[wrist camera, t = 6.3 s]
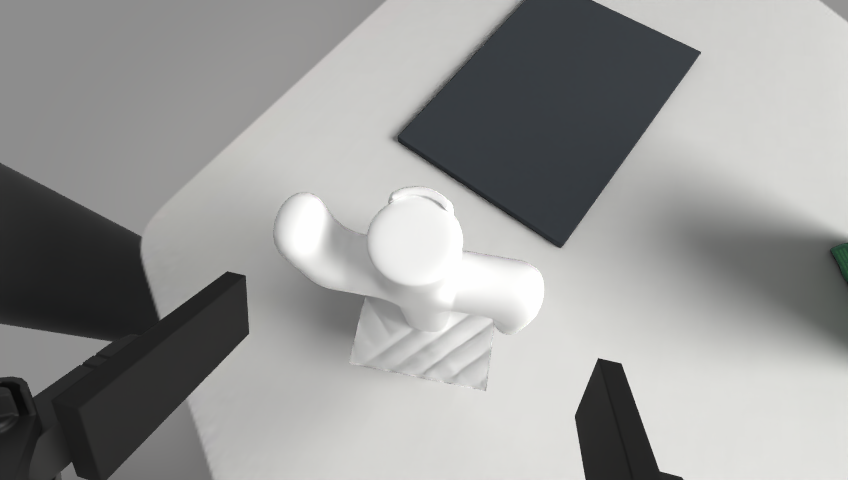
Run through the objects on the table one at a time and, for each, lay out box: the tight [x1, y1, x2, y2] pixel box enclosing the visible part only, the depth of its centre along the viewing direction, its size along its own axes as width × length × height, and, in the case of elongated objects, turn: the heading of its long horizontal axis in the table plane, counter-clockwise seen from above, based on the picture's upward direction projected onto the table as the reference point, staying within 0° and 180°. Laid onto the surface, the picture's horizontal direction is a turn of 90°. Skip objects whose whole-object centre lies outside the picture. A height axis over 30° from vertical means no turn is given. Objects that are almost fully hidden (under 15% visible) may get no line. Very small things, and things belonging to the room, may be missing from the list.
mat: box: [398, 0, 701, 248], centre depth 31 cm, size 20×14×1 cm
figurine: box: [273, 186, 544, 391], centre depth 19 cm, size 7×9×15 cm
